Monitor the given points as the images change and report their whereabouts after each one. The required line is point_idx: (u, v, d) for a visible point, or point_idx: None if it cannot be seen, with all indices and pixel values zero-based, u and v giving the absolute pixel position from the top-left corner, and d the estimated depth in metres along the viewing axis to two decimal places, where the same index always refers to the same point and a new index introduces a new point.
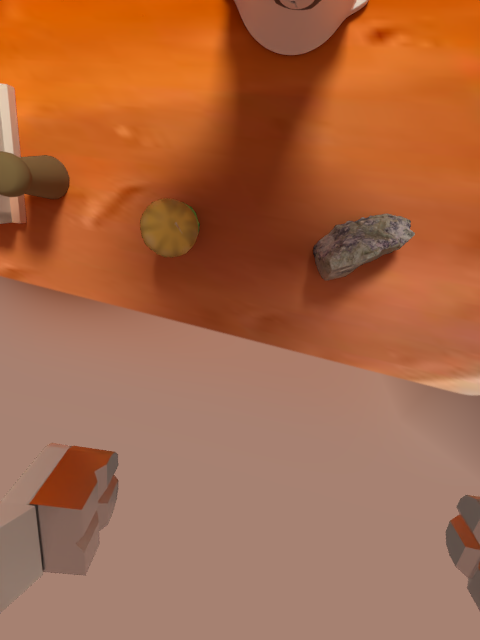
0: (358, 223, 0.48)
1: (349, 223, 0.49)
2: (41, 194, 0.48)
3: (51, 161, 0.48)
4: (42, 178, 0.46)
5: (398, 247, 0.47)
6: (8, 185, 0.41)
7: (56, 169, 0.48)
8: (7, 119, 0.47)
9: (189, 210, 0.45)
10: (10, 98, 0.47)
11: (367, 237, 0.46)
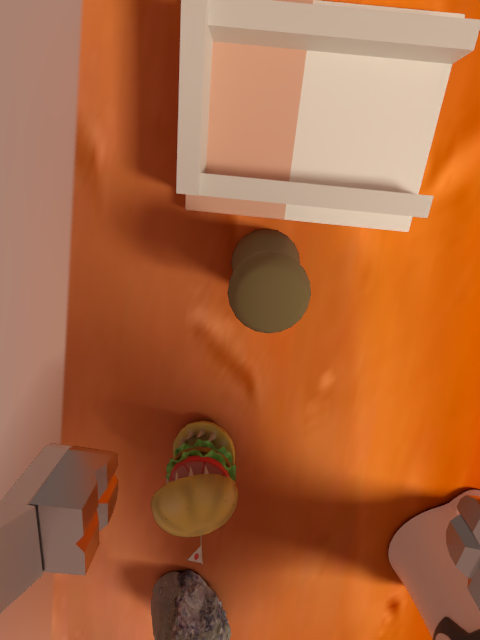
0: (219, 626, 0.43)
1: (218, 618, 0.43)
2: None
3: None
4: None
5: None
6: (249, 314, 0.21)
7: None
8: (357, 221, 0.27)
9: None
10: (387, 229, 0.28)
11: None
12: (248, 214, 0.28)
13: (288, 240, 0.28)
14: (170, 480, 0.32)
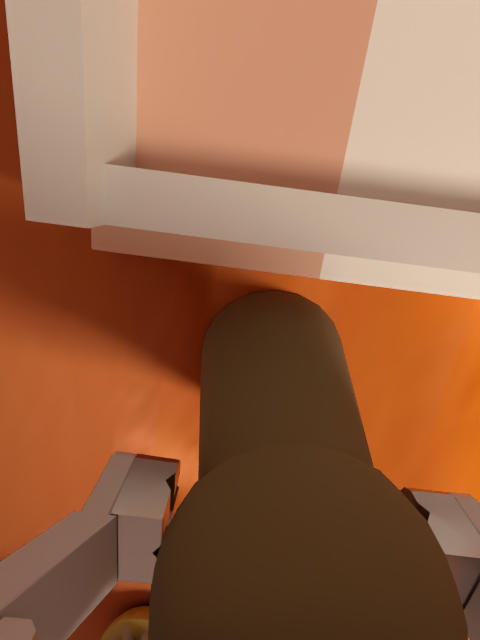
0: None
1: None
2: None
3: None
4: None
5: None
6: None
7: None
8: None
9: None
10: None
11: None
12: (237, 265, 0.12)
13: (324, 321, 0.13)
14: None
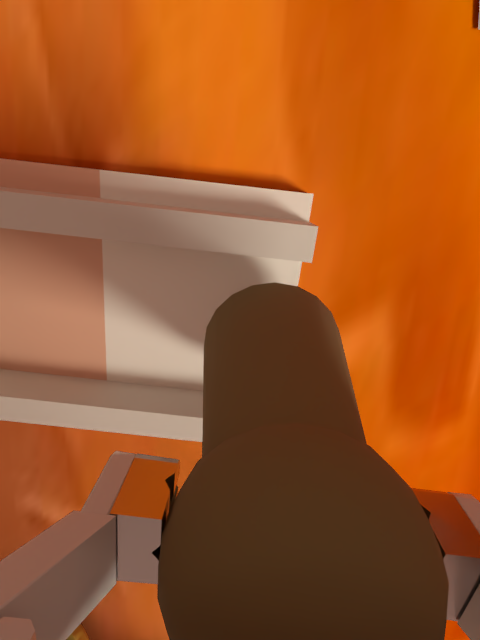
0: None
1: None
2: None
3: None
4: None
5: None
6: None
7: None
8: None
9: None
10: None
11: None
12: None
13: (322, 311, 0.13)
14: None
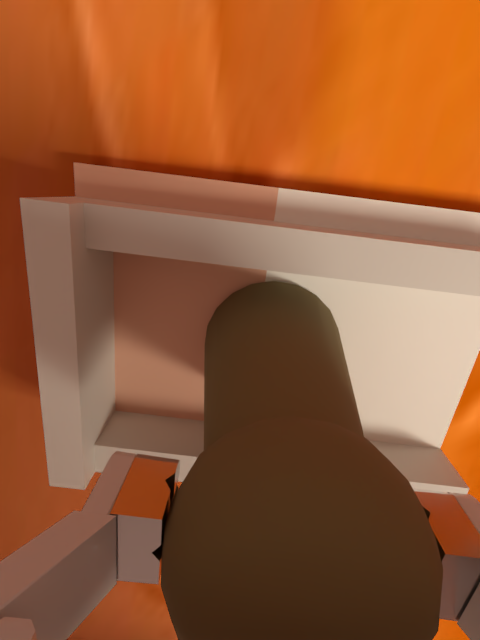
0: None
1: None
2: None
3: None
4: None
5: None
6: None
7: None
8: None
9: None
10: None
11: None
12: None
13: (321, 309, 0.14)
14: None
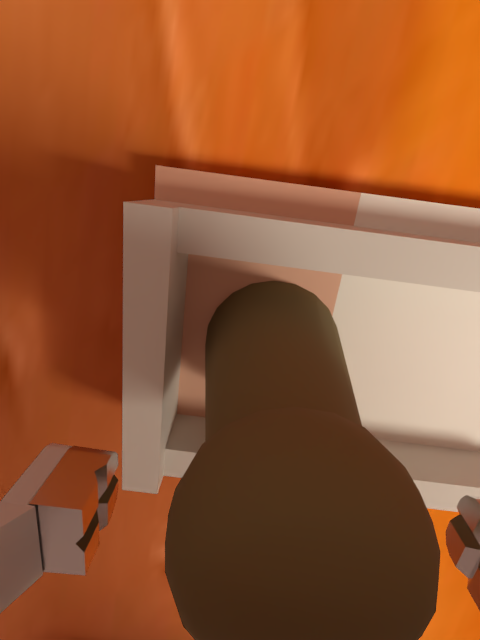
0: None
1: None
2: None
3: None
4: None
5: None
6: None
7: None
8: None
9: None
10: None
11: None
12: None
13: (320, 307, 0.14)
14: None
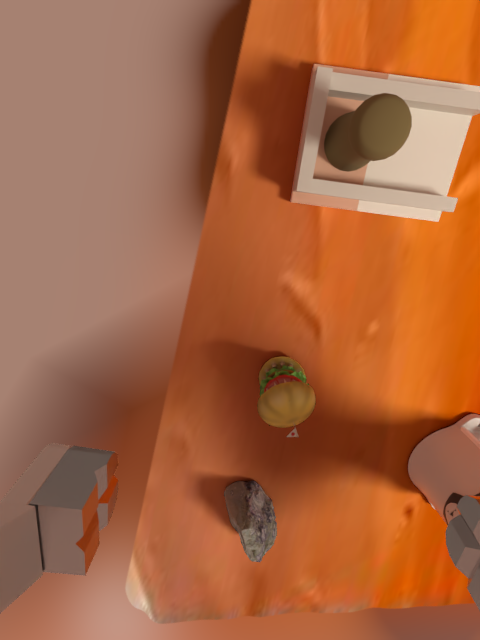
0: (273, 523, 0.57)
1: (273, 516, 0.57)
2: (338, 147, 0.35)
3: None
4: (361, 160, 0.34)
5: None
6: (369, 137, 0.29)
7: (363, 165, 0.38)
8: (405, 213, 0.41)
9: None
10: (424, 219, 0.42)
11: None
12: (333, 206, 0.41)
13: None
14: (265, 392, 0.46)
